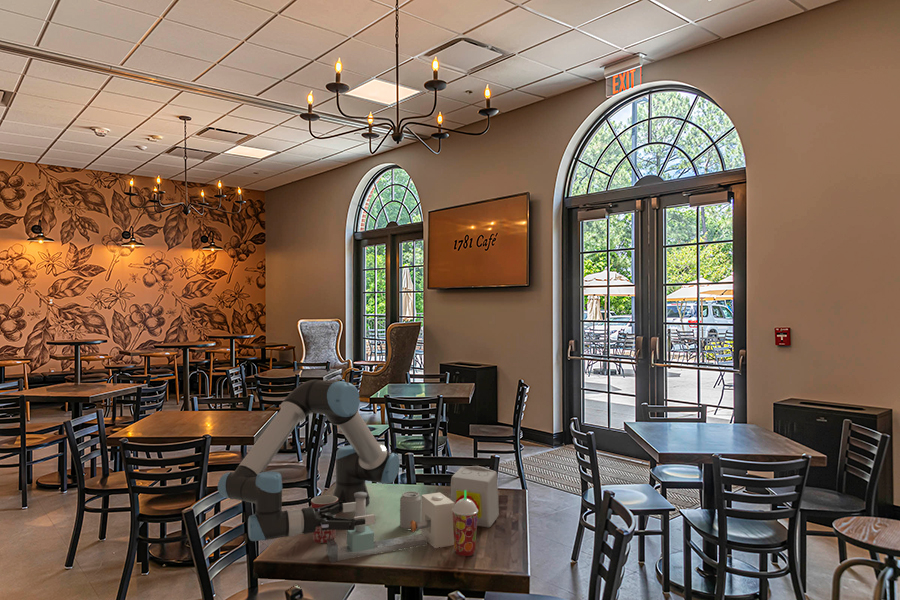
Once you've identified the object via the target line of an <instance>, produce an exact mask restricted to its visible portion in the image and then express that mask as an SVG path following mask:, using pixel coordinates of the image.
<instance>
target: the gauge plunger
mask: <svg viewBox="0 0 900 600" xmlns="http://www.w3.org/2000/svg"><path fill="white" fill-rule="evenodd" d="M429 527H431V520H425V521H419V522H415V521H414V520H413V521H410V529H411V530H410V532H411V533H415V532H416V530H421V529H423V528H429Z"/></svg>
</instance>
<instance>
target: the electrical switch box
mask: <svg viewBox="0 0 900 600" xmlns="http://www.w3.org/2000/svg"><path fill="white" fill-rule="evenodd" d="M498 487H499V486H498V473H497V471H495V470H492V469H489V468H486V467H483V466H479V465H472V466H461V467H460V468H459V469H458V470H457V471H456V472H455V473H453V475H452V476H451V479H450V500H451V501H453V502H454V503H455V504H456V502H457V501H459V500H460V499H463V498H464V490H466V498H467V499H470V500H472V501H473V502H474V503H475V505H476V507H477V509H478V517H477V527H485V528H490V527H491V526H493V524H494V523H495V521H496V520H497V518H498V517H499V515H500V512H499V511H500V510H499V493H498V492H499V488H498Z"/></svg>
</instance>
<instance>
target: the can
mask: <svg viewBox="0 0 900 600" xmlns="http://www.w3.org/2000/svg"><path fill="white" fill-rule="evenodd" d="M399 502H400V505H399V508H400V509H399V513H400V514H399V525H400V527H401V528H402V529H403V528H404V529H403V530H406V529H410V521H413V520H414V521H415V522H419V521H421V496H420V493H419V492H417V491H405V492H403V493H402V494H401V496H400V501H399Z"/></svg>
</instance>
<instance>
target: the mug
mask: <svg viewBox="0 0 900 600" xmlns="http://www.w3.org/2000/svg"><path fill="white" fill-rule="evenodd" d="M337 501H338V498H337V497H336V496H333V494H332V495H330V494H329V495H327V494H324V495H317V496H314V497H313V498H311V500H310V502H311V507H313V508H319V507H322V506H325V505H328V504H332V503H335V502H337ZM334 506H335V505H334ZM335 516H336V517H337V514H336V515H335ZM312 538H313V539H312V540H313V541H314V542H315V543H320V544H327V539H332V538H333V539H334V540H335V538H336V530H321V526H317V527H316V530H315V532H314V533H312Z"/></svg>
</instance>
